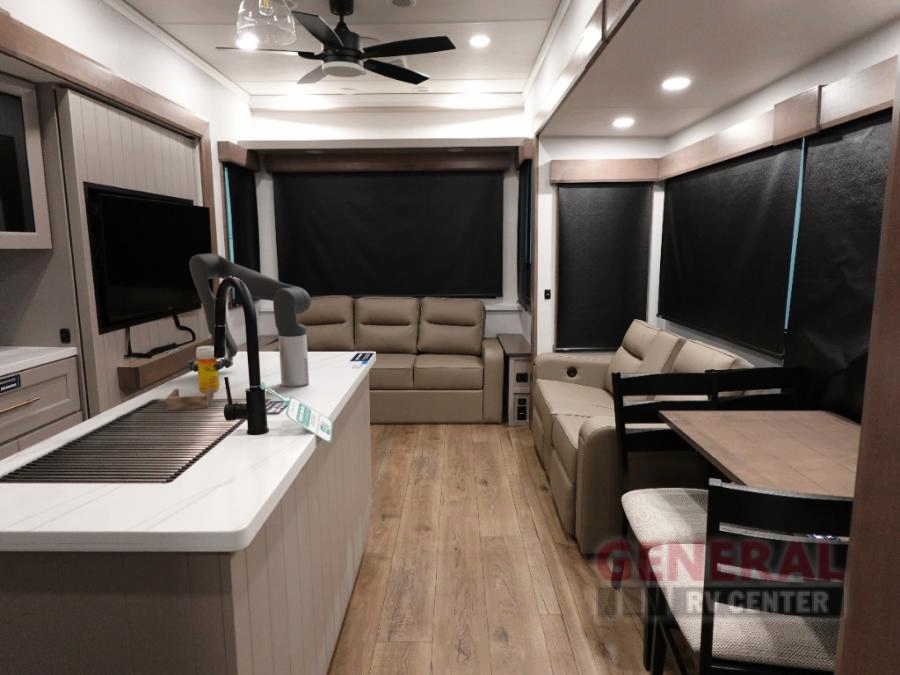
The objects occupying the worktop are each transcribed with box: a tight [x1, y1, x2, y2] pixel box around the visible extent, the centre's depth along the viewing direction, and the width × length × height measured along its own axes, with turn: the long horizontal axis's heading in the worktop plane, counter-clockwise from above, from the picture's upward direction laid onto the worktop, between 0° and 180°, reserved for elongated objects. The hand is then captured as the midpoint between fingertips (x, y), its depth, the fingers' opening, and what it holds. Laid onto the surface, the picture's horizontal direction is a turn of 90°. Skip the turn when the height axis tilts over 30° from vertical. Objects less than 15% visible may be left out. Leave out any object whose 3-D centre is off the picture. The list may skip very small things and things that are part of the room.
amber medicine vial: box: [195, 345, 220, 395], centre depth 178 cm, size 6×6×15 cm
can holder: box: [165, 387, 215, 411], centre depth 166 cm, size 11×11×4 cm
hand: (206, 368), depth 176 cm, fingers closed on amber medicine vial, 6 cm apart
